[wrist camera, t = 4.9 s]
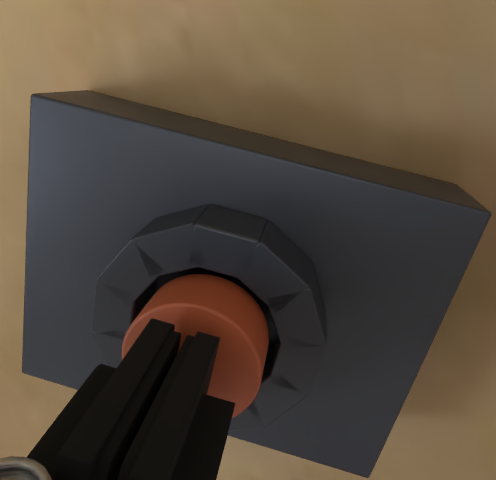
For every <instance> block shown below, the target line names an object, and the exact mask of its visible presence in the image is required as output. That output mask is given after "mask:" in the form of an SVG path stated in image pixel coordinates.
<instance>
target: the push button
mask: <svg viewBox="0 0 496 480" xmlns="http://www.w3.org/2000/svg"><path fill="white" fill-rule="evenodd" d="M152 318H153V319H157V320H160V321H164V322H167V323H171V324H174V325H175V329H174V331H176V332H180V333H181V339H180V344H179V349H178V352H179V350H180V348H181V346H182V344H183V342H184V340H185V338H186V336H187V335H190V336H194V337H195V336H196V334H197V332H198V331H199V332H203V333H206V334H210V335H213V336H217V337H220V342H219V346H218V350H217V355H216V359H215V363H214V367H213V371H212V375H211V380H210V384H209V388H208V392H207V395H210V396H213V397H217V398H220V399H223V400H227V401H230V402H234V403H235V407H234V411H233V415H232V418H234V417H236V416H237V415H239V414H240V413H242V412H243V411H244V410H245V409H246V408H247V407H248V406H249V405H250V404H251V403H252V402H253V400H254V399H255V397H256V395H257V393H258V391H259V388H260V385H261V380H262V375H263V370H264V365H265V360H266V355H267V350H268V345H269V328H268V324H267V320H266V318H265V315H264V313H263V311H262V310H261V308H260V306H259V305H258V303H257V302H256V301H255V299H254V298H253V297H252V296H251V295H250V294H249V293H248V292H246V291H245V290H244V289H243V288H241V287H240V286H238V285H237V284H235V283H233V282H231V281H229V280H227V279H224V278H221V277H218V276H213V275H207V274H192V275H185V276H181V277H178V278H175V279H173V280H171V281H169V282H168V283H166V284H164V285H163V286H162V287H161V288H160V289H158V290H157V292H156V293H155V294H154V295H153V296H152V298H151V299H150V300H149V302H148V303H147V304H146V306H145V307H144V308H143V309H142V311H141V312H140V313H139V315H138V316H137V317H136V318H135V320H134V321H133V322H132V324H131V325H130V327H129V328H128V330H127V332H126V334H125V337H124V340H123V344H122V360H123V358H124V357H125V355H126V354H127V353H128V351H129V350H130V348H131V347H132V345H133V344H134V342H135V341H136V339H137V338H138V337H139V335H140V334H141V332H142V331H143V329H144V328H145V326H146V325H147V324H148V322H149V321H150V320H151V319H152Z"/></svg>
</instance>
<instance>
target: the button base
mask: <svg viewBox="0 0 496 480" xmlns="http://www.w3.org/2000/svg"><path fill="white" fill-rule="evenodd" d="M490 217H491V212H490V211H488V210H487V209H486V208H485V207H484V206H482V205H481V204H480V203H479V202H477V201H476V200H475V199H474V198H472V197H471V196H470V195H469V194H467V193H466V192H465V191H464V190H463V189H461V188H460V187H459V186H458V185H456V184H452V183H448V182H444V181H440V180H436V179H432V178H429V177H425V176H421V175H417V174H413V173H409V172H405V171H401V170H397V169H393V168H389V167H386V166H382V165H378V164H374V163H370V162H366V161H362V160H358V159H354V158H350V157H346V156H342V155H339V154H335V153H331V152H327V151H323V150H319V149H315V148H311V147H307V146H303V145H299V144H296V143H292V142H288V141H284V140H280V139H276V138H272V137H268V136H264V135H260V134H256V133H252V132H249V131H245V130H241V129H237V128H233V127H229V126H225V125H221V124H217V123H213V122H209V121H206V120H202V119H198V118H194V117H190V116H186V115H182V114H178V113H174V112H170V111H166V110H162V109H159V108H155V107H151V106H147V105H143V104H139V103H135V102H131V101H127V100H123V99H119V98H115V97H112V96H108V95H104V94H100V93H96V92H92V91H88V90H86V91H70V92H54V93H37V94H32V95H31V107H30V138H29V170H28V201H27V232H26V263H25V294H24V326H23V357H22V372H23V373H24V374H28V375H31V376H34V377H38V378H41V379H44V380H47V381H51V382H54V383H57V384H61V385H64V386H67V387H70V388H74V389H77V390H79V388H80V387H81V386H82V384H83V383H84V382H85V381H86V379H87V378H88V377H89V375H90V374H91V373H92V371H93V370H94V369H95V368H96V367H97V366H98V365H100V364H104V365H108V366H111V367H114V368H117V367H118V366H119V364H120V363H121V361H122V344H123V340H124V337H125V334H126V332H127V330H128V328H129V327H130V325H131V324H132V322H133V321H134V320H135V318H136V317H137V316H138V315H139V313H140V312H141V311H142V309H143V308H144V307H145V306H146V304H147V303H148V302H149V300H150V299H151V298H152V296H153V295H154V294H155V293H156V292H157V290H158V289H160V288H161V287H162V286H163V285H164V284H166V283H168V282H169V281H171V280H173V279H175V278H178V277H181V276H185V275H192V274H207V275H213V276H218V277H221V278H224V279H227V280H229V281H231V282H233V283H235V284H237V285H238V286H240V287H241V288H243V289H244V290H245V291H246V292H248V293H249V294H250V295H251V296H252V297H253V298H254V299H255V301H256V302H257V303H258V305H259V306H260V308H261V310H262V311H263V313H264V315H265V318H266V320H267V324H268V328H269V345H268V350H267V355H266V360H265V365H264V370H263V375H262V380H261V385H260V388H259V391H258V393H257V395H256V397H255V399H254V400H253V402H252V403H251V404H250V405H249V406H248V407H247V408H246V409H245V410H244V411H243V412H242V413H240V414H239V415H237V416H236V417H234V418H232V419H231V423H230V427H229V431H228V436H232V437H235V438H238V439H241V440H245V441H248V442H251V443H255V444H258V445H261V446H264V447H268V448H271V449H274V450H278V451H281V452H284V453H287V454H291V455H294V456H297V457H301V458H304V459H307V460H310V461H314V462H317V463H320V464H324V465H327V466H330V467H333V468H337V469H340V470H343V471H347V472H350V473H353V474H356V475H360V476H363V477H366V478H369V477H370V474H371V472H372V470H373V468H374V466H375V464H376V462H377V459H378V457H379V455H380V453H381V451H382V449H383V446H384V444H385V442H386V440H387V438H388V436H389V434H390V431H391V429H392V427H393V425H394V423H395V421H396V419H397V416H398V414H399V412H400V410H401V408H402V406H403V403H404V401H405V399H406V397H407V395H408V393H409V391H410V388H411V386H412V384H413V382H414V380H415V378H416V376H417V373H418V371H419V369H420V367H421V365H422V363H423V361H424V358H425V356H426V354H427V352H428V350H429V348H430V345H431V343H432V341H433V339H434V337H435V335H436V333H437V330H438V328H439V326H440V324H441V322H442V320H443V318H444V315H445V313H446V311H447V309H448V307H449V305H450V302H451V300H452V298H453V296H454V294H455V292H456V290H457V287H458V285H459V283H460V281H461V279H462V277H463V275H464V272H465V270H466V268H467V266H468V264H469V262H470V260H471V257H472V255H473V253H474V251H475V249H476V247H477V244H478V242H479V240H480V238H481V236H482V234H483V232H484V229H485V227H486V225H487V223H488V221H489V219H490Z"/></svg>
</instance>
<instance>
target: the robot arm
mask: <svg viewBox="0 0 496 480" xmlns="http://www.w3.org/2000/svg"><path fill="white" fill-rule="evenodd" d="M174 329H175V325H174V324H171V323H167V322H164V321H160V320H157V319H153V318H152V319H151V320H150V321H149V322H148V324H147V325H146V326H145V328H144V329H143V331H142V332H141V334H140V335H139V337H138V338H137V339H136V341H135V342H134V344H133V345H132V347H131V348H130V350H129V351H128V353H127V354H126V355H125V357H124V358H123V360H122V361H121V363H120V364H119V366H118V367H117V368H114V367H111V366H108V365H104V364H100V365H98V366H97V367H96V368H95V369H94V370H93V371H92V373H91V374H90V375H89V377H88V378H87V379H86V381H85V382H84V383H83V384H82V386H81V387H80V388H79V390H78V391H77V392H76V394H75V395H74V396H73V398H72V399H71V400H70V401H69V403H68V404H67V405H66V407H65V408H64V409H63V411H62V412H61V413H60V415H59V416H58V417H57V418H56V420H55V421H54V422H53V424H52V425H51V426H50V428H49V429H48V430H47V431H46V433H45V434H44V435H43V437H42V438H41V439H40V441H39V442H38V443H37V445H36V446H35V447H34V448H33V450H32V451H31V452H30V454H29V455H28V456H27V458H26V457H5V458H1V459H0V480H216V478H217V474H218V470H219V466H220V462H221V458H222V454H223V450H224V446H225V443H226V439H227V435H228V431H229V427H230V423H231V419H232V415H233V411H234V407H235V403H234V402H230V401H227V400H223V399H220V398H217V397H213V396H210V395H207V392H208V388H209V384H210V380H211V375H212V371H213V367H214V363H215V359H216V355H217V350H218V346H219V342H220V337H217V336H213V335H210V334H206V333H203V332H199V331H198V332H197V334H196V336H195V337H194V336H190V335H187V336H186V338H185V340H184V342H183V344H182V346H181V348H180V350H179V352H178V349H179V344H180V339H181V333H180V332H176V331H174Z"/></svg>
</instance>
